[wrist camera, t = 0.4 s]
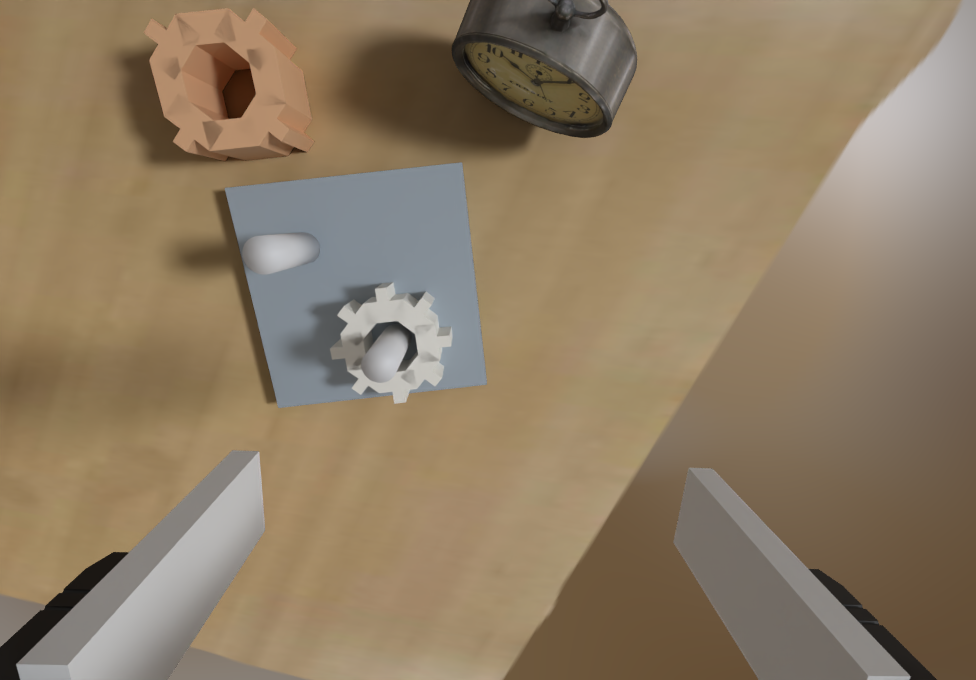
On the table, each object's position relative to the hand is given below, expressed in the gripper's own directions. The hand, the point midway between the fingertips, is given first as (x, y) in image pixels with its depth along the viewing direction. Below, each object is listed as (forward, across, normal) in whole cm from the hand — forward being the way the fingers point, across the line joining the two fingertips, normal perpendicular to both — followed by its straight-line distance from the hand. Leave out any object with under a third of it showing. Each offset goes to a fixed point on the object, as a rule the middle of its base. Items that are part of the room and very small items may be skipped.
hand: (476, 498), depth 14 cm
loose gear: (+26, -17, +16) cm, 35 cm away
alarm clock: (+26, +4, +18) cm, 32 cm away
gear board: (+26, -9, +2) cm, 28 cm away
